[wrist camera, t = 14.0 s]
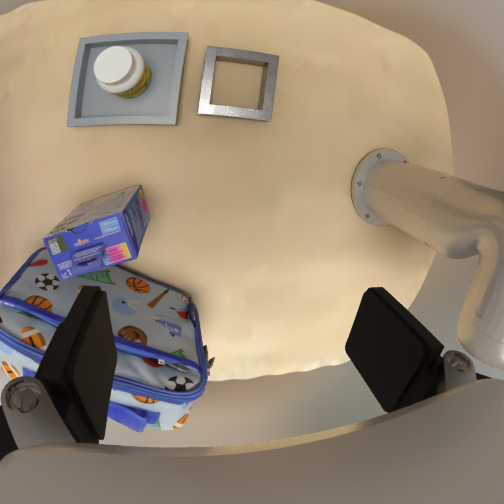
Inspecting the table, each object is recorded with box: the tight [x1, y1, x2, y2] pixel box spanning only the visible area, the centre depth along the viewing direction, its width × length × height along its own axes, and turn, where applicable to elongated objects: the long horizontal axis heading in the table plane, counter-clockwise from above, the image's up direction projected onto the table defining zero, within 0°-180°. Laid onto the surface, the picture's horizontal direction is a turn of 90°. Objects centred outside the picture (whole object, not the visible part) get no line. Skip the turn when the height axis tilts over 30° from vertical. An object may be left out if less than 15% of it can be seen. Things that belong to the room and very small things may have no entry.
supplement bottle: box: [94, 46, 152, 99], centre depth 25 cm, size 5×5×10 cm
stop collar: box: [198, 46, 279, 122], centre depth 32 cm, size 9×9×2 cm
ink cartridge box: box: [44, 185, 149, 280], centre depth 30 cm, size 10×6×14 cm, turn 101°
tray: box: [67, 32, 188, 127], centre depth 28 cm, size 14×12×3 cm
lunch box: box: [0, 247, 215, 432], centre depth 31 cm, size 28×10×22 cm, turn 64°
